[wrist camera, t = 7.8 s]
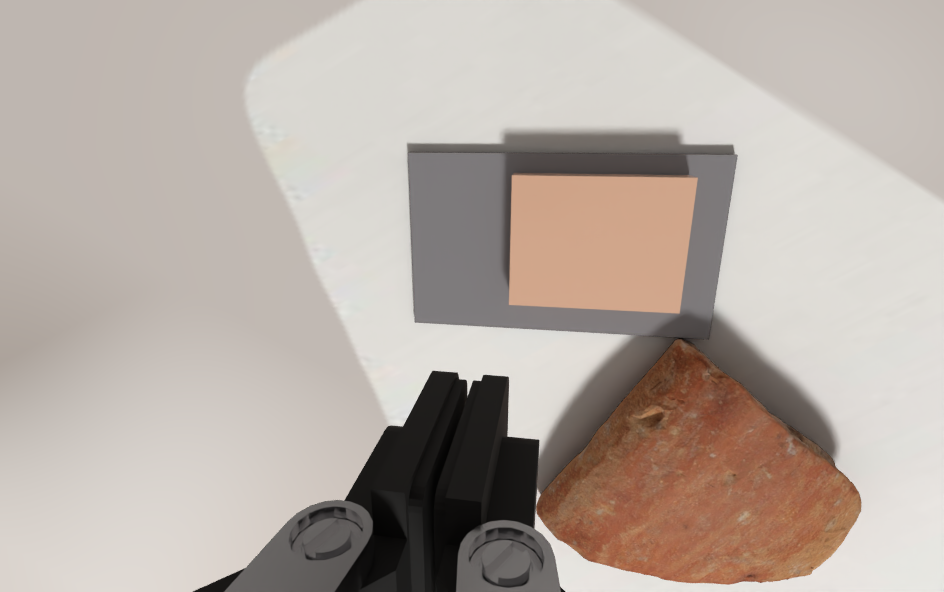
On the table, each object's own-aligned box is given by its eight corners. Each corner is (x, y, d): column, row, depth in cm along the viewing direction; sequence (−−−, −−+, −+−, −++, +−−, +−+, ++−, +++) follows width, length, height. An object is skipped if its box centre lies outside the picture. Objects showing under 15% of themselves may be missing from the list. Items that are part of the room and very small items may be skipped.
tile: (514, 172, 28) (689, 174, 26) (511, 295, 30) (673, 303, 29) (511, 175, 26) (697, 177, 25) (508, 304, 28) (679, 313, 27)
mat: (735, 154, 26) (737, 154, 26) (706, 336, 29) (708, 339, 29) (409, 152, 29) (408, 152, 28) (416, 320, 32) (414, 322, 31)
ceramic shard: (726, 682, 31) (522, 522, 32) (718, 591, 36) (545, 459, 38) (956, 559, 24) (683, 363, 25) (902, 471, 29) (681, 315, 31)
